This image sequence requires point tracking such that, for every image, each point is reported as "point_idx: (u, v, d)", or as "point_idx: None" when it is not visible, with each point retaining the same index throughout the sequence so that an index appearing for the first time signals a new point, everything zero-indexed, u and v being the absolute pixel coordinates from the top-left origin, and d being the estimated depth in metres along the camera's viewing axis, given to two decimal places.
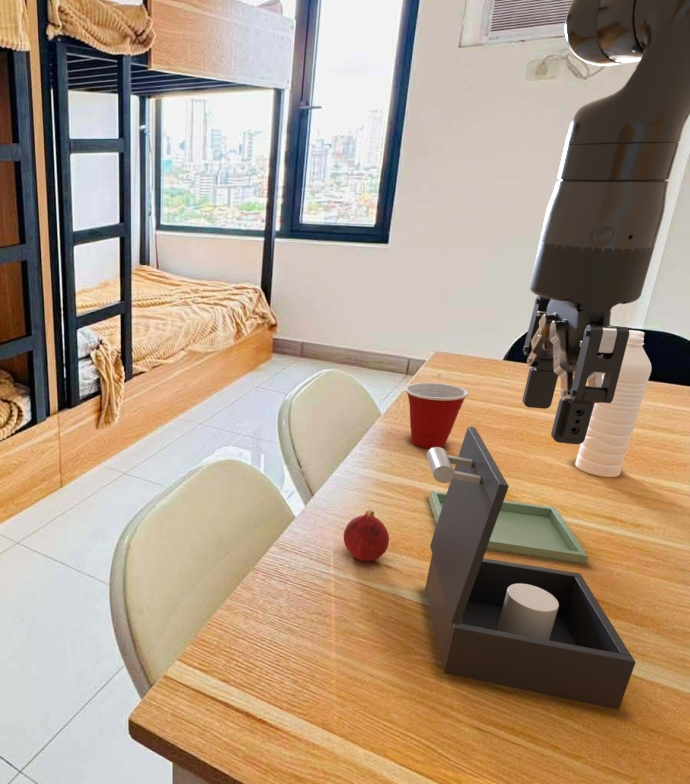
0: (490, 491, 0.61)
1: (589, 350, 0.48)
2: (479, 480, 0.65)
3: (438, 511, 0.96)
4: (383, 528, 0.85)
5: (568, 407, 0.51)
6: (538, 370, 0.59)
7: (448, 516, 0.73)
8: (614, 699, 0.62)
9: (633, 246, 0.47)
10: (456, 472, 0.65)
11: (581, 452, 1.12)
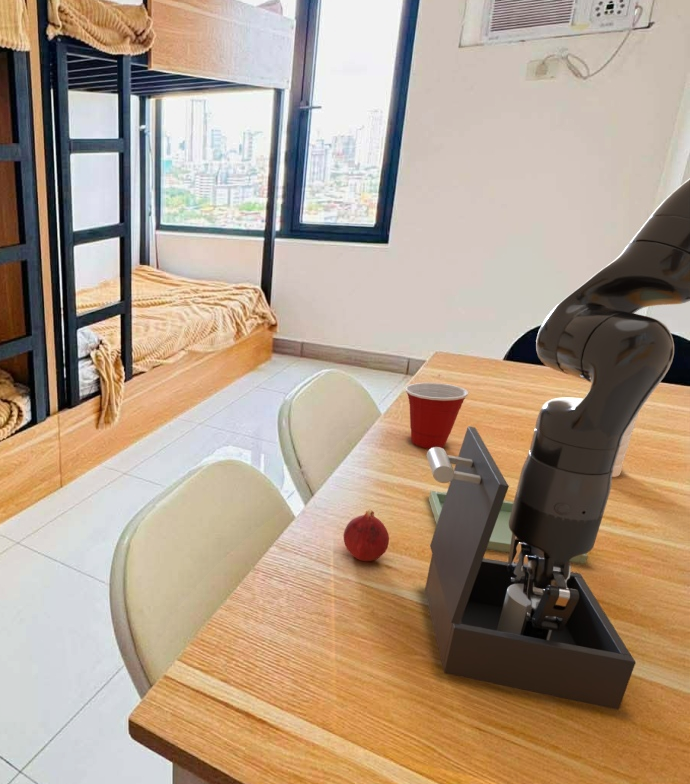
0: (490, 491, 0.61)
1: (547, 604, 0.62)
2: (479, 480, 0.65)
3: (438, 511, 0.96)
4: (383, 528, 0.85)
5: (531, 626, 0.67)
6: None
7: (448, 516, 0.73)
8: (614, 699, 0.62)
9: (586, 518, 0.61)
10: (456, 472, 0.65)
11: None
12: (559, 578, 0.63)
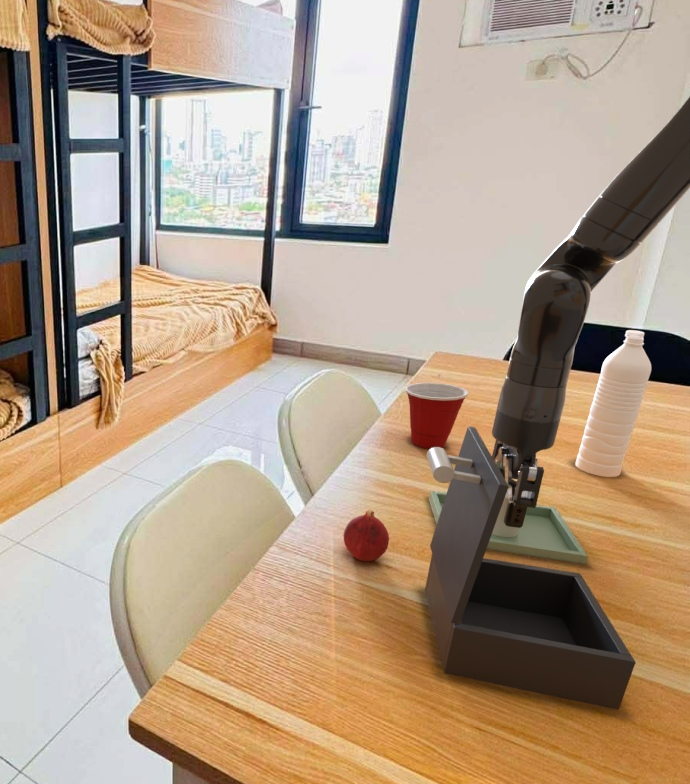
0: (490, 491, 0.61)
1: (522, 479, 0.84)
2: (479, 480, 0.65)
3: (438, 511, 0.96)
4: (383, 528, 0.85)
5: (512, 507, 0.88)
6: None
7: (448, 516, 0.73)
8: (614, 699, 0.62)
9: (547, 421, 0.84)
10: (456, 472, 0.65)
11: (581, 452, 1.12)
12: (528, 463, 0.86)
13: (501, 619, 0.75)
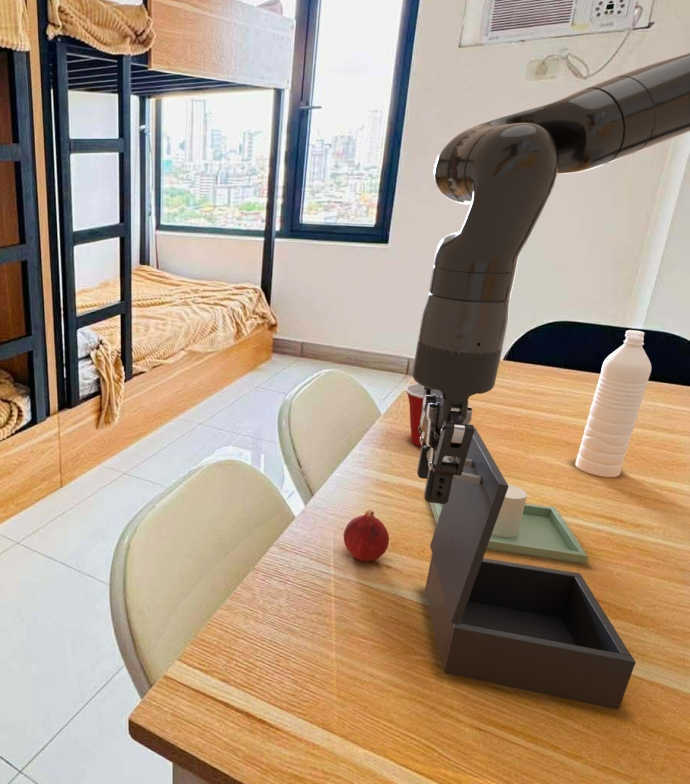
0: (490, 491, 0.61)
1: (444, 441, 0.60)
2: (479, 480, 0.65)
3: (438, 511, 0.96)
4: (383, 528, 0.85)
5: (433, 476, 0.65)
6: (427, 448, 0.70)
7: (448, 516, 0.73)
8: (614, 699, 0.62)
9: (481, 351, 0.60)
10: None
11: (581, 452, 1.12)
12: (456, 416, 0.61)
13: (501, 619, 0.75)
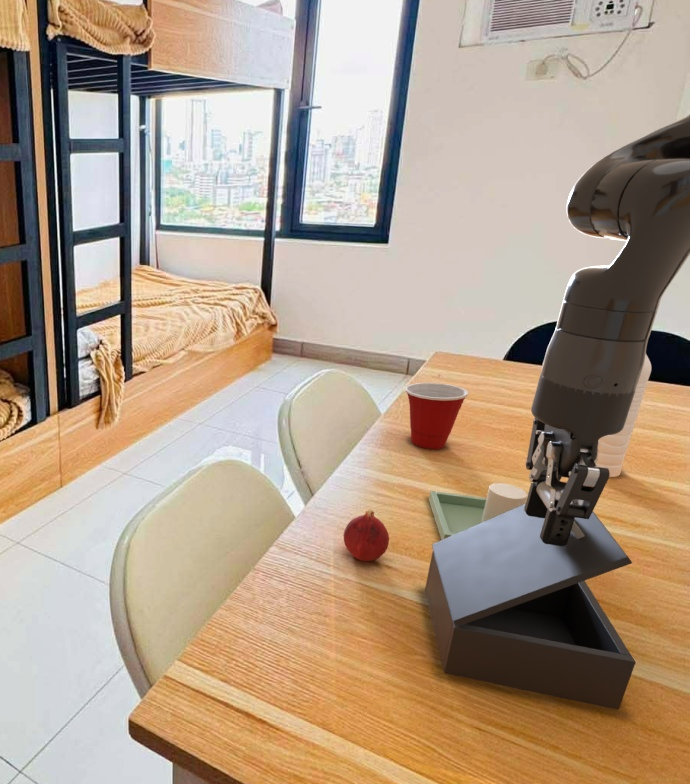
0: (602, 554, 0.60)
1: (575, 485, 0.58)
2: (581, 536, 0.63)
3: (438, 511, 0.96)
4: (383, 528, 0.85)
5: (554, 517, 0.62)
6: None
7: (488, 537, 0.73)
8: (614, 699, 0.62)
9: (618, 392, 0.57)
10: None
11: None
12: (587, 458, 0.59)
13: (501, 619, 0.75)
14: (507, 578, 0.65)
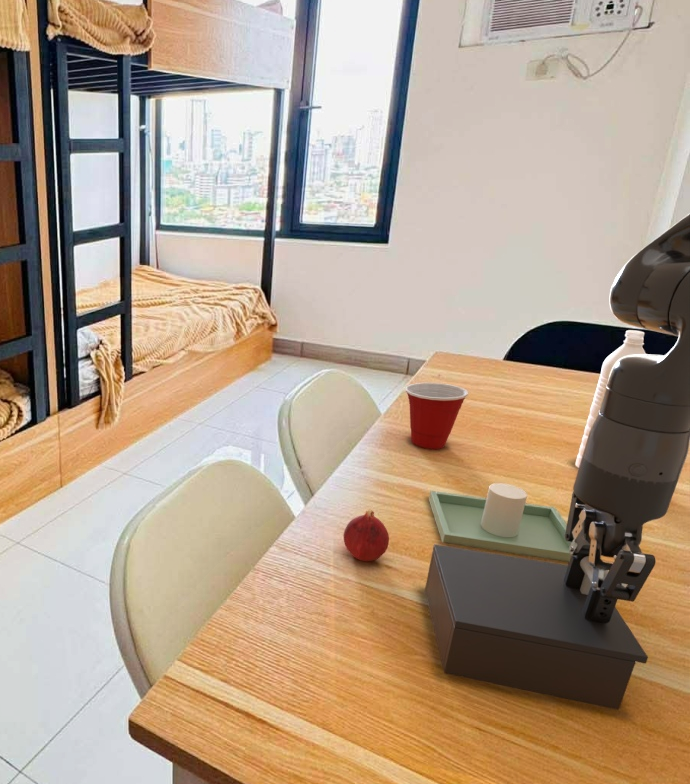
0: (621, 642, 0.62)
1: (620, 570, 0.59)
2: None
3: (438, 511, 0.96)
4: (383, 528, 0.85)
5: (597, 596, 0.64)
6: (579, 559, 0.69)
7: (497, 568, 0.73)
8: (614, 699, 0.62)
9: (662, 480, 0.58)
10: None
11: (581, 452, 1.12)
12: (632, 543, 0.60)
13: None
14: (518, 613, 0.66)
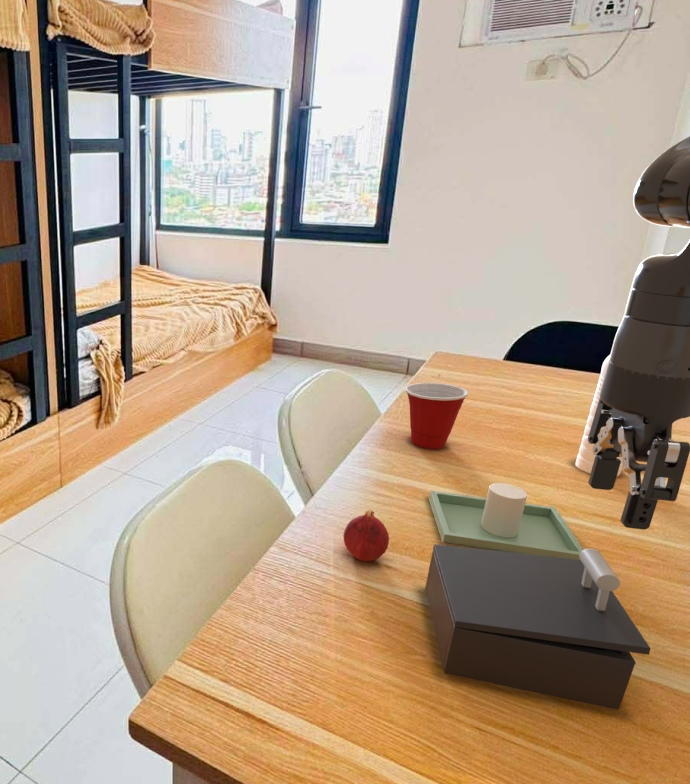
0: (623, 634, 0.62)
1: (657, 460, 0.59)
2: (602, 610, 0.65)
3: (438, 511, 0.96)
4: (383, 528, 0.85)
5: (636, 501, 0.62)
6: (603, 459, 0.70)
7: (498, 565, 0.73)
8: (614, 699, 0.62)
9: None
10: None
11: (581, 452, 1.12)
12: (663, 437, 0.60)
13: None
14: (518, 610, 0.66)
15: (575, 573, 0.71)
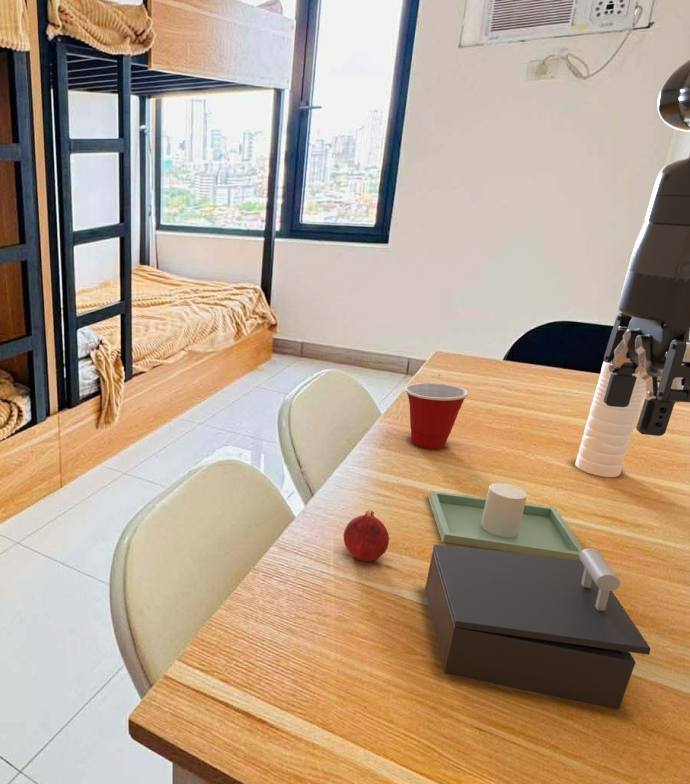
0: (623, 634, 0.62)
1: (675, 360, 0.60)
2: (602, 610, 0.65)
3: (438, 511, 0.96)
4: (383, 528, 0.85)
5: (652, 406, 0.63)
6: (619, 375, 0.71)
7: (498, 565, 0.73)
8: (614, 699, 0.62)
9: None
10: None
11: (581, 452, 1.12)
12: (681, 339, 0.61)
13: None
14: (518, 610, 0.66)
15: (575, 573, 0.71)
